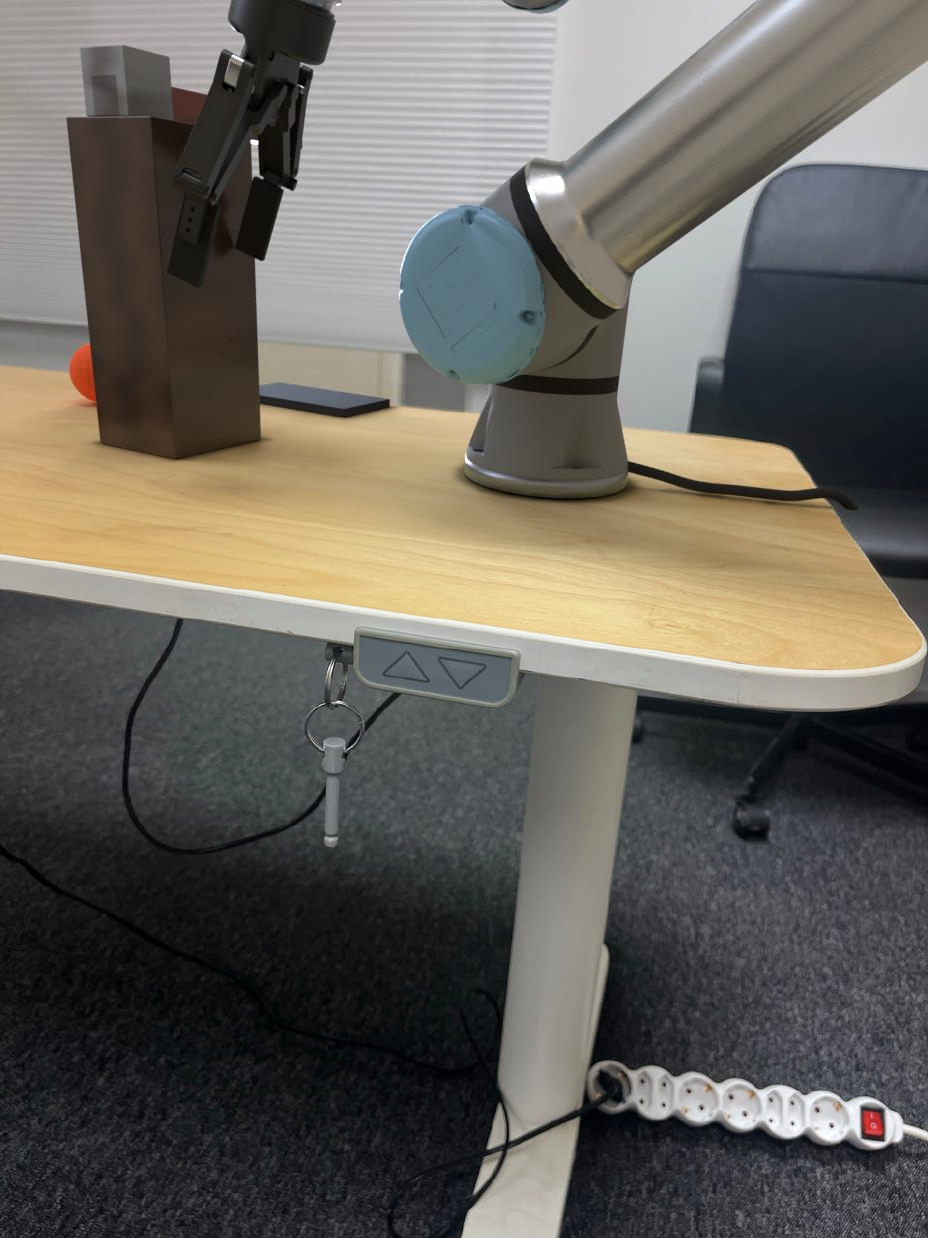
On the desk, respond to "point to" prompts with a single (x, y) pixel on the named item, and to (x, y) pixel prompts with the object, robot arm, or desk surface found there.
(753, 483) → the desk surface
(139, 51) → the hammer
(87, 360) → the clementine
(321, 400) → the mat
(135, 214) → the tall post
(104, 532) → the desk surface
